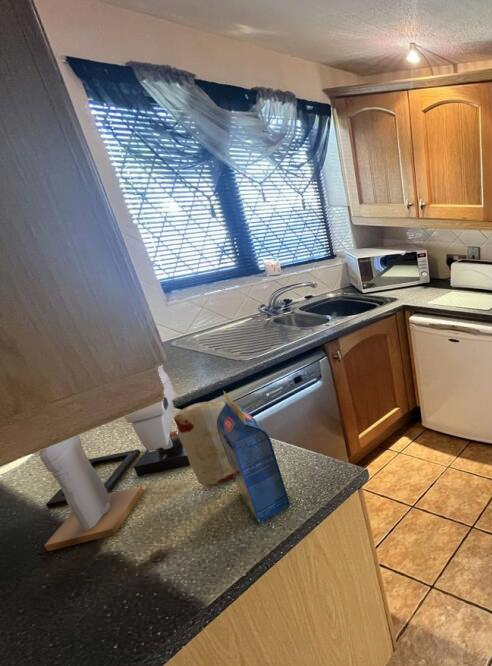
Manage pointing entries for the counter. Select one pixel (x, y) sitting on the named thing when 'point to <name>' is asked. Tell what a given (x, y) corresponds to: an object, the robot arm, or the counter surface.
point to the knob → (175, 440)
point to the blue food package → (252, 461)
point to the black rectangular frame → (111, 482)
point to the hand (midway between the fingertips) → (169, 443)
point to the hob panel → (161, 461)
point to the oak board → (104, 527)
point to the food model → (204, 442)
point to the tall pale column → (77, 481)
